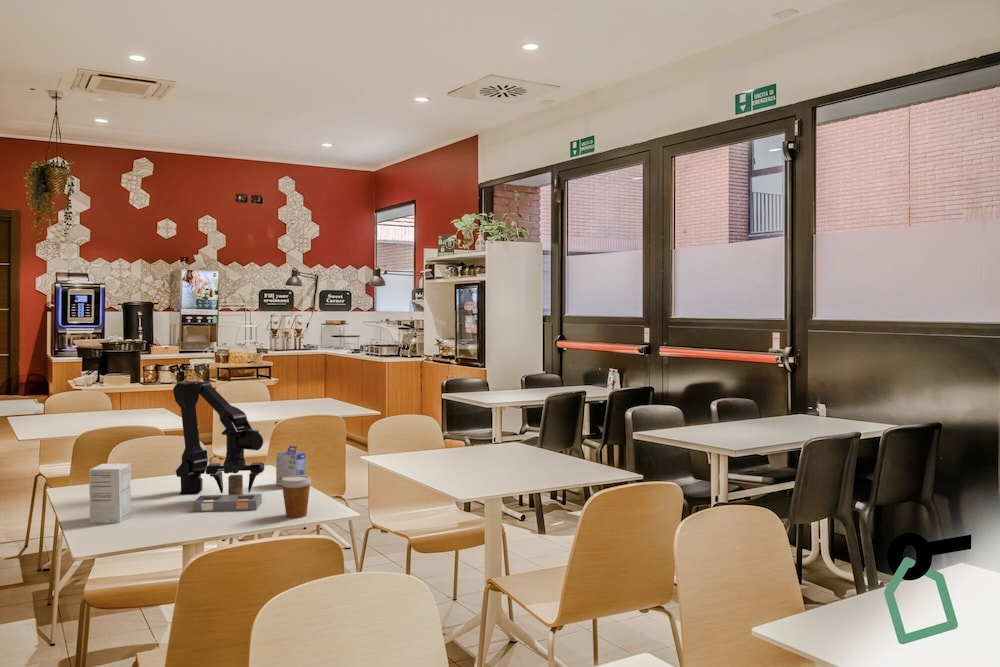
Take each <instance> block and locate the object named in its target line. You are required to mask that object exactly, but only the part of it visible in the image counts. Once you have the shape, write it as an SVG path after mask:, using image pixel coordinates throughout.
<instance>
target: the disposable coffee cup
mask: <svg viewBox="0 0 1000 667" xmlns="http://www.w3.org/2000/svg"><path fill="white" fill-rule="evenodd" d="M281 484H282V486H281V487H282V494H283V495H282V496H283V501H284V502H283V503H284V508H285V517H286V518H289V517H290V518H289V519H291V518H292V519H299V518H298V517H300V518H303V516H304V517H306V516H308V515H307V514H308V513H307V512H308V506H309V497H310V488H311V484H312V480H311V477H310V476H309V475H305V476H303V475H295V476H287V477H284V478H282V482H281Z"/></svg>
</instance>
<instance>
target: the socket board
mask: <svg viewBox="0 0 1000 667" xmlns="http://www.w3.org/2000/svg"><path fill="white" fill-rule="evenodd" d="M262 498H263V495H262V493H251V494H250V493H247V494H246V493H245V494H244V493H243V494H238V495H229V494H209V495H206V494H204V495H203V494H202V495H199V496H198V497H197V498H196V499H195V500H194V501H192V512H223V511H224V512H225V511H227V512H229V511H233V510H234V511H257V510H258V508H260V506H261V505H262V504H263V501H262V500H263V499H262Z"/></svg>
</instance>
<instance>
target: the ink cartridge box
mask: <svg viewBox="0 0 1000 667" xmlns="http://www.w3.org/2000/svg"><path fill="white" fill-rule="evenodd" d="M297 449H298V446H295V445H289V446H288V449H287V451H281V452H277V453H276V455H275V456H276V460H275V461H276V462H275V466H276V467H275V470H276V471H275V472H276V473H275V476H276V479H275V485H276V486H281V487H282V484H281V482H282V478H284V477H287V476H295V475H303V476H306V452H297Z"/></svg>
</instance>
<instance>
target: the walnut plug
mask: <svg viewBox="0 0 1000 667" xmlns="http://www.w3.org/2000/svg"><path fill="white" fill-rule="evenodd" d="M227 478H228V479H227V480H228V481H227V483H228V484H227V485H228V488H227V489H228V494H227V495H238V494H244V491H243V490H244V489H243V488H244V487H243V486H244V484H243V483H244V482H243V480H244V477H243V474H230V475H229V476H228V477H227Z"/></svg>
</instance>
